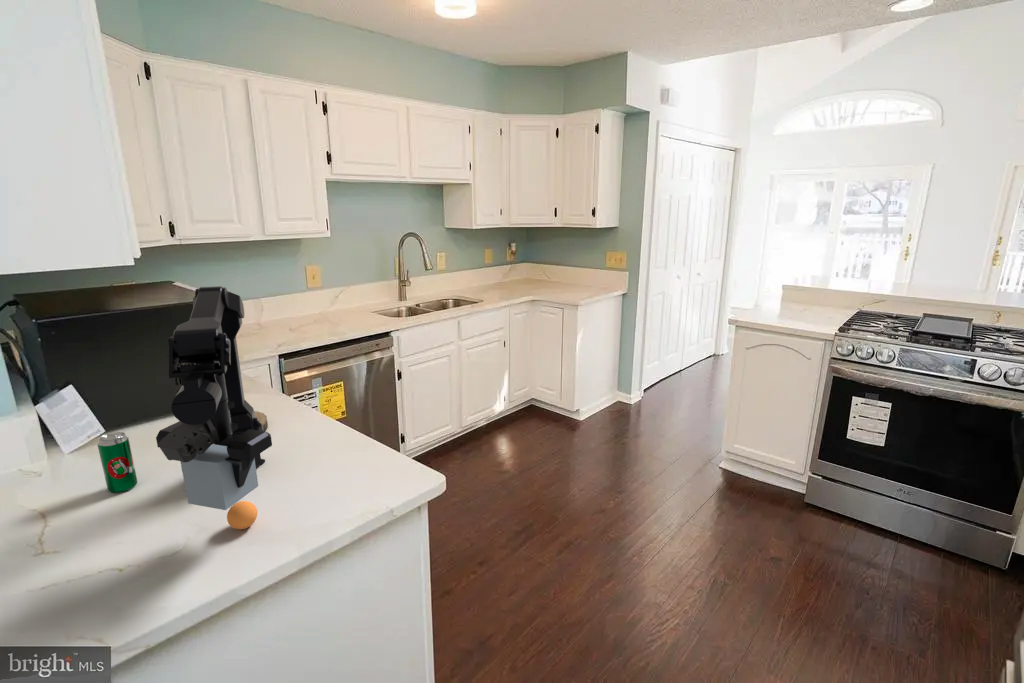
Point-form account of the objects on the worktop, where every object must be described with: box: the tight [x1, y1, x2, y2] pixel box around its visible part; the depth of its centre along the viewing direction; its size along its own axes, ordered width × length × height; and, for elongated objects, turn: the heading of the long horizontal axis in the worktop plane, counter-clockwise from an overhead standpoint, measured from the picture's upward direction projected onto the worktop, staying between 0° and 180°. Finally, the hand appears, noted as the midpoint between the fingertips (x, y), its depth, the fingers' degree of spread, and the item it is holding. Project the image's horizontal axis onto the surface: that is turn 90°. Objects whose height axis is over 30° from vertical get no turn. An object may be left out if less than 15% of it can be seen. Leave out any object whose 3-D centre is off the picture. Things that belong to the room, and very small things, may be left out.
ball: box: [226, 500, 258, 530], centre depth 93 cm, size 5×5×5 cm
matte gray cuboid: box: [179, 445, 259, 511], centre depth 87 cm, size 8×8×9 cm
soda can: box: [97, 431, 138, 494], centre depth 104 cm, size 5×5×12 cm
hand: (221, 483), depth 88 cm, fingers closed on matte gray cuboid, 8 cm apart
